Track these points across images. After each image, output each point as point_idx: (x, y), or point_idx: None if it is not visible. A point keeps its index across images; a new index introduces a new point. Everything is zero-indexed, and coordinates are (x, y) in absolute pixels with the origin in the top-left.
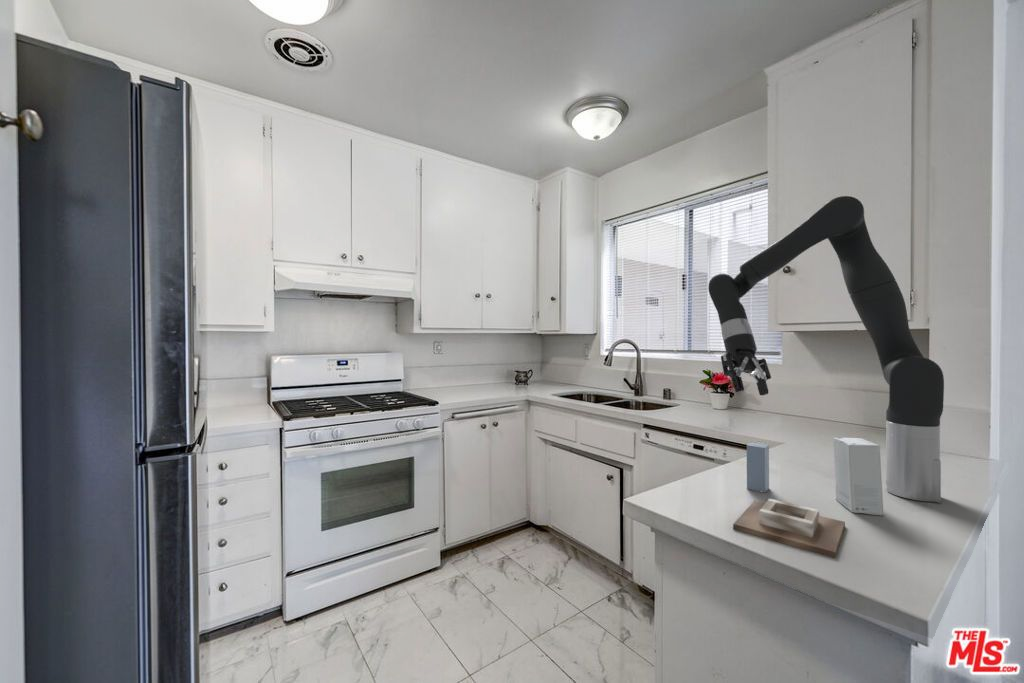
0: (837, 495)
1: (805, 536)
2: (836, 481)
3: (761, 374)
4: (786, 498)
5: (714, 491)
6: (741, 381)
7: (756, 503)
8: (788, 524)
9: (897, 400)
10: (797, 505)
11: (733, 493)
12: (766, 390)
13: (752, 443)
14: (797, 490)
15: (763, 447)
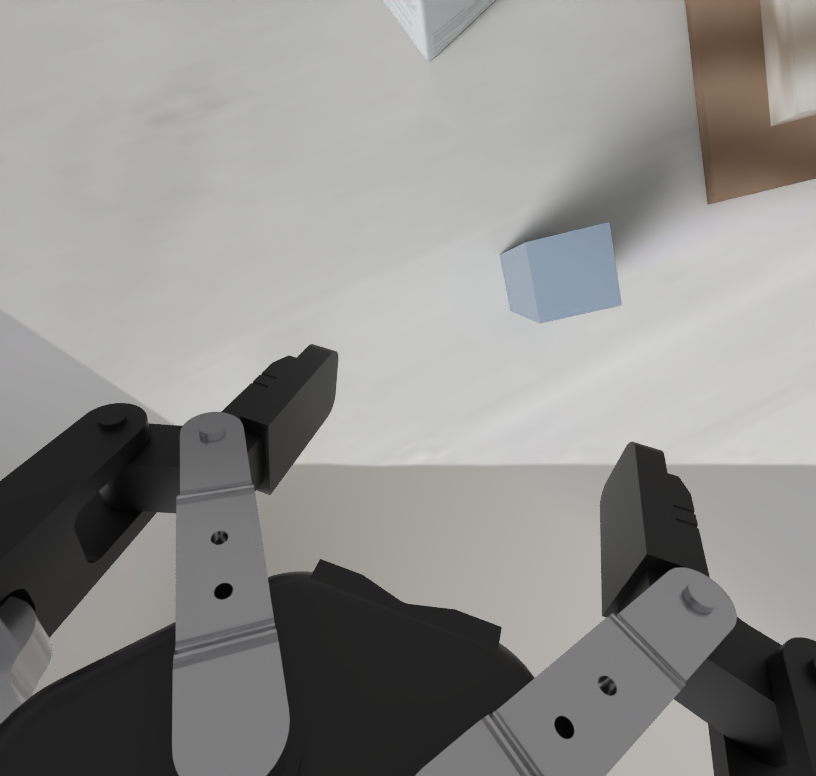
0: (445, 40)
1: None
2: (442, 18)
3: (233, 476)
4: (553, 171)
5: (680, 350)
6: (654, 508)
7: (739, 183)
8: None
9: None
10: (799, 14)
11: (649, 302)
12: (322, 357)
13: (561, 305)
14: (437, 186)
15: (604, 231)
